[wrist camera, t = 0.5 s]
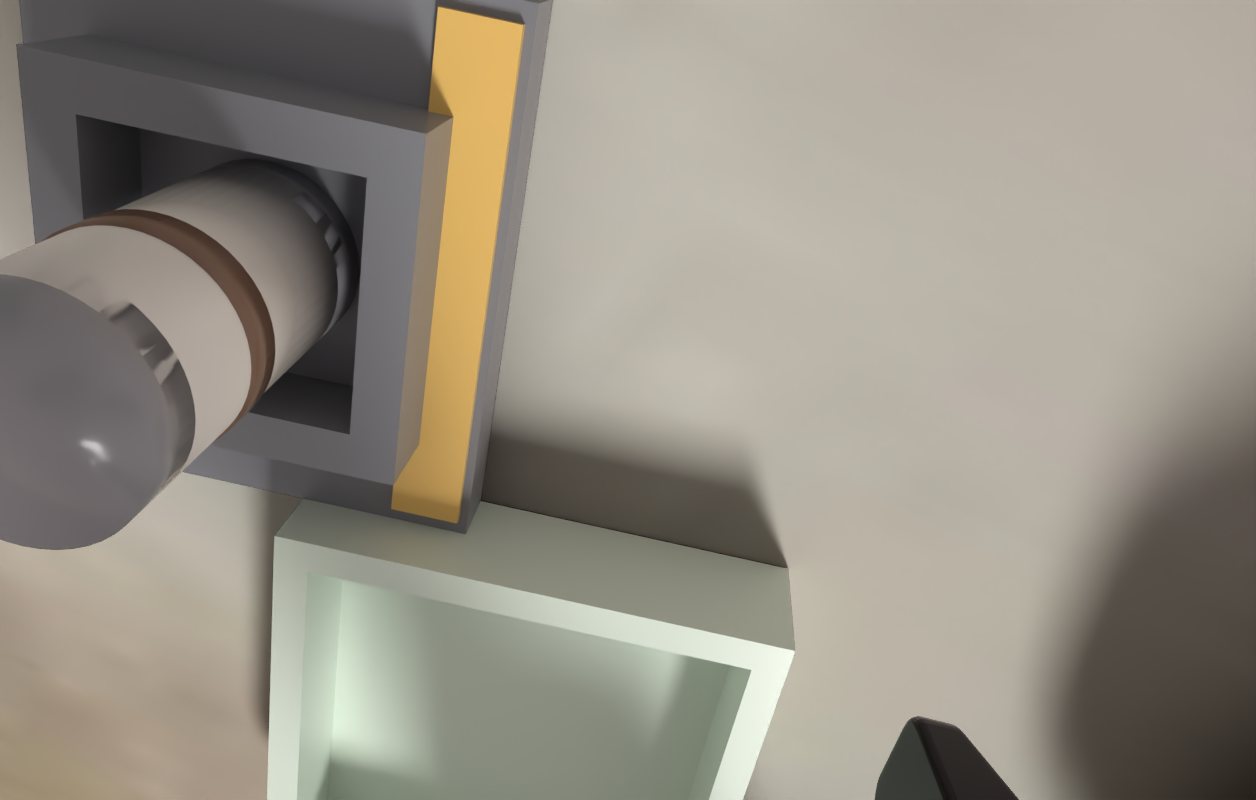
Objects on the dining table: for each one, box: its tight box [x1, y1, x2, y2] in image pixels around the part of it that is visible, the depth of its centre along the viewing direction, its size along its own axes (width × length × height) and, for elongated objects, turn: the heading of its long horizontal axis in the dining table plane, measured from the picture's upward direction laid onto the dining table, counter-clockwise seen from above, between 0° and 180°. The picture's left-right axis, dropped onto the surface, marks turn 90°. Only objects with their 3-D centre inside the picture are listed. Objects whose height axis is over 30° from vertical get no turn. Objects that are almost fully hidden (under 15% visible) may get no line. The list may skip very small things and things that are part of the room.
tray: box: [267, 499, 795, 800], centre depth 25 cm, size 12×12×3 cm
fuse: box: [0, 159, 359, 550], centre depth 17 cm, size 4×4×8 cm
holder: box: [16, 0, 553, 534], centre depth 20 cm, size 12×10×4 cm
